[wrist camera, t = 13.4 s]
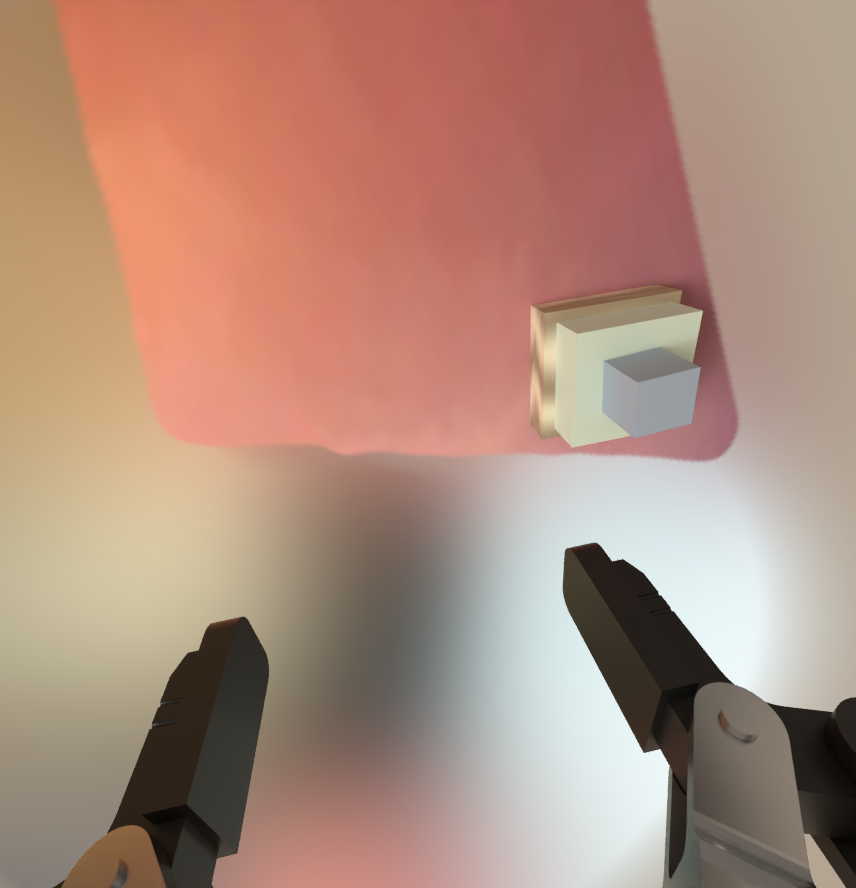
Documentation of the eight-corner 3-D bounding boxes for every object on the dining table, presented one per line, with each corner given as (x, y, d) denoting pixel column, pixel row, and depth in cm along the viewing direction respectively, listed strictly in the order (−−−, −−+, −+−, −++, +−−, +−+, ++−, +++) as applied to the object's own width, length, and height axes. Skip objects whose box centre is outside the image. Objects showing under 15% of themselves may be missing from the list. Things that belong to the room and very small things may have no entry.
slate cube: (603, 361, 36) (638, 382, 31) (659, 347, 36) (700, 366, 32) (602, 411, 38) (633, 438, 34) (653, 398, 38) (691, 423, 34)
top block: (556, 322, 38) (577, 334, 34) (671, 301, 38) (703, 310, 35) (554, 428, 43) (572, 447, 40) (654, 408, 44) (680, 425, 40)
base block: (528, 304, 40) (544, 313, 37) (655, 283, 41) (682, 290, 38) (528, 422, 47) (542, 439, 44) (637, 401, 48) (659, 417, 44)
